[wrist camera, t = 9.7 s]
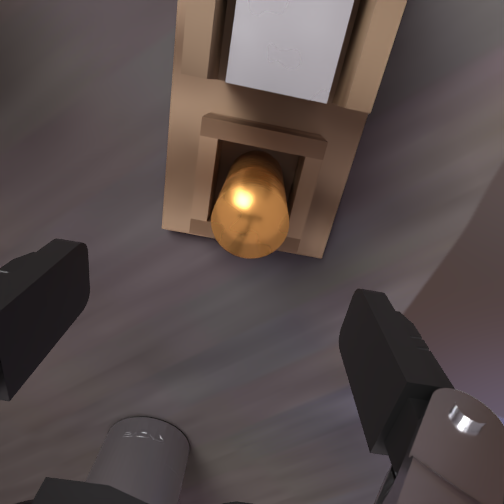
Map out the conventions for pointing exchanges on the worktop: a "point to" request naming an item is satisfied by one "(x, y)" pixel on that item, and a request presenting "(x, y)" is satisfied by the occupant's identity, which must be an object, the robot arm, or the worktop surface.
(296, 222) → the mount
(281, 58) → the grey angular block
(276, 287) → the worktop surface
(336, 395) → the worktop surface
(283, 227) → the peg
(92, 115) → the worktop surface
